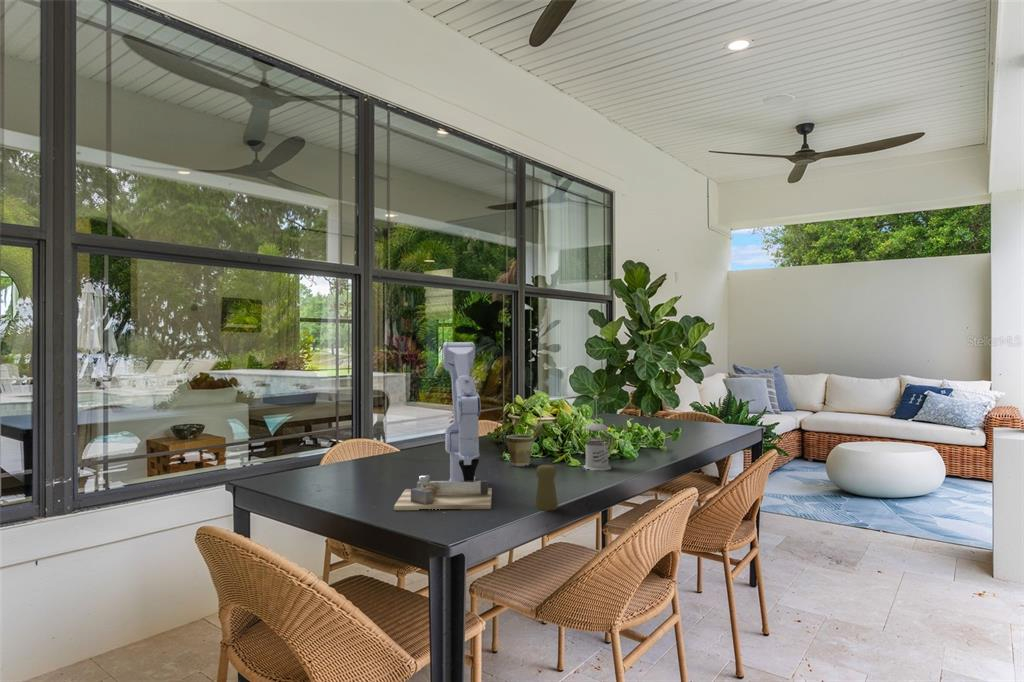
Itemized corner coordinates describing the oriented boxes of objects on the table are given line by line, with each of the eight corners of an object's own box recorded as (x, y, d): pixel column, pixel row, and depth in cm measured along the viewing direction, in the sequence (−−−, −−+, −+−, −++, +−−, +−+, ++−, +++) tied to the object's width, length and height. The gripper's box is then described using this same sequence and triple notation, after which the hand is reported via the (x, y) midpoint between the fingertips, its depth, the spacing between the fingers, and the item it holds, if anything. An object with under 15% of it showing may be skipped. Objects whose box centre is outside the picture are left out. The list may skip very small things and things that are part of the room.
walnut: (424, 498, 164) (424, 484, 164) (437, 497, 164) (437, 484, 164) (422, 501, 161) (422, 487, 161) (436, 501, 161) (435, 487, 161)
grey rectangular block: (417, 499, 163) (417, 487, 163) (433, 502, 159) (432, 490, 159) (410, 501, 161) (410, 489, 161) (426, 504, 157) (426, 492, 157)
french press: (576, 466, 211) (576, 395, 211) (602, 463, 217) (601, 393, 217) (595, 471, 202) (594, 396, 203) (621, 467, 209) (620, 395, 209)
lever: (416, 495, 166) (416, 477, 166) (418, 492, 169) (418, 475, 169) (487, 494, 167) (487, 476, 167) (488, 491, 169) (487, 474, 169)
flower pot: (534, 467, 211) (534, 438, 211) (505, 467, 211) (505, 438, 211) (533, 460, 224) (533, 433, 224) (506, 460, 224) (506, 433, 224)
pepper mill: (544, 503, 163) (543, 462, 163) (562, 506, 159) (562, 464, 159) (530, 508, 158) (529, 465, 158) (549, 511, 154) (548, 468, 154)
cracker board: (405, 493, 175) (405, 489, 175) (491, 492, 175) (491, 488, 175) (394, 510, 157) (394, 505, 157) (490, 509, 157) (490, 504, 157)
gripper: (456, 434, 181) (456, 480, 180) (452, 442, 166) (453, 491, 166) (480, 434, 181) (480, 479, 181) (478, 441, 166) (478, 491, 166)
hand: (469, 485), depth 173 cm, fingers closed
